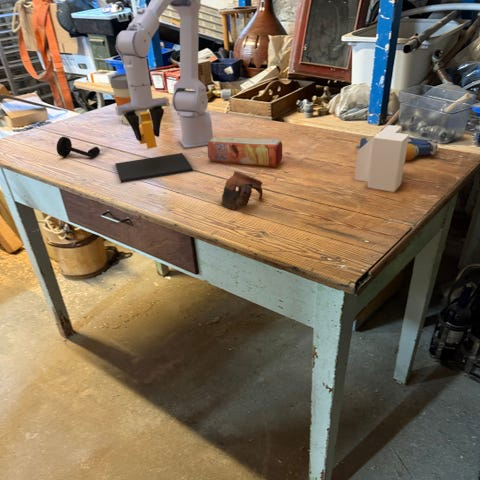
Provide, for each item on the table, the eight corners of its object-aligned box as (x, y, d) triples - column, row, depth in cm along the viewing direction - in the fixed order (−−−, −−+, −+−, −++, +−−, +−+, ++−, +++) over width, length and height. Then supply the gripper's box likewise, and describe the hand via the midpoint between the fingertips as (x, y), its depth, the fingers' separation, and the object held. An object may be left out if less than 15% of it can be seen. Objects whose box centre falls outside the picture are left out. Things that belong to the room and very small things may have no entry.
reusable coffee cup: (149, 125, 170) (142, 79, 161) (115, 126, 170) (105, 81, 161) (154, 115, 180) (148, 71, 171) (122, 117, 180) (113, 73, 171)
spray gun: (418, 168, 124) (441, 153, 132) (420, 152, 121) (444, 137, 130) (348, 155, 135) (374, 142, 144) (349, 140, 133) (375, 128, 142)
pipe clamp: (139, 137, 136) (133, 114, 132) (154, 134, 136) (148, 111, 132) (141, 150, 127) (134, 125, 123) (157, 147, 127) (151, 122, 123)
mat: (182, 155, 142) (182, 152, 142) (193, 170, 132) (192, 168, 131) (115, 165, 138) (115, 163, 138) (121, 182, 127) (120, 179, 127)
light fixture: (110, 155, 153) (87, 168, 143) (82, 146, 154) (57, 158, 145) (110, 136, 149) (86, 149, 139) (80, 128, 151) (55, 139, 141)
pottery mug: (215, 200, 116) (227, 167, 114) (250, 213, 119) (262, 181, 117) (223, 207, 105) (236, 171, 103) (261, 221, 108) (275, 186, 106)
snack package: (206, 163, 136) (204, 139, 132) (216, 155, 141) (214, 132, 136) (276, 170, 129) (276, 144, 125) (284, 161, 133) (284, 137, 129)
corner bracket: (394, 192, 113) (402, 141, 106) (349, 184, 119) (354, 135, 111) (407, 176, 120) (415, 128, 113) (364, 169, 125) (370, 122, 118)
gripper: (158, 77, 128) (165, 129, 136) (107, 86, 122) (118, 139, 130) (169, 81, 123) (176, 135, 131) (116, 91, 117) (127, 146, 126)
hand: (148, 137), depth 131 cm, fingers closed on pipe clamp, 5 cm apart
